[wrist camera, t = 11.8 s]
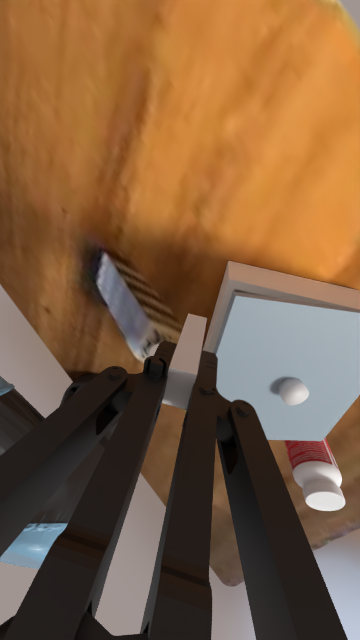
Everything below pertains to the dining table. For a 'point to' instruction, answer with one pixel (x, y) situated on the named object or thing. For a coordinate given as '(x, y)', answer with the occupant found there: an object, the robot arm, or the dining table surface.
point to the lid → (290, 363)
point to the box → (274, 292)
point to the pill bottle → (316, 473)
